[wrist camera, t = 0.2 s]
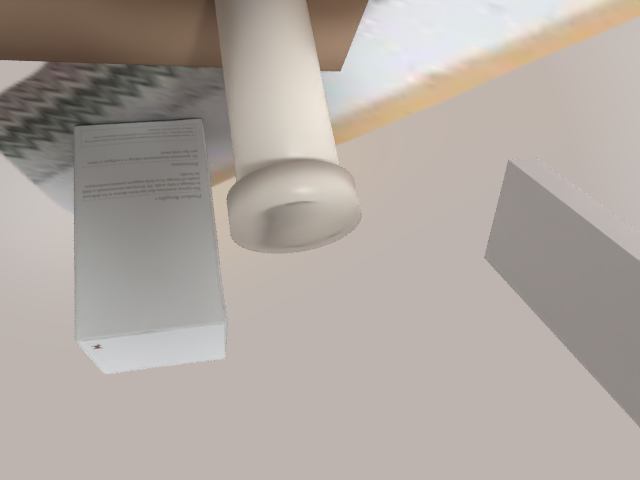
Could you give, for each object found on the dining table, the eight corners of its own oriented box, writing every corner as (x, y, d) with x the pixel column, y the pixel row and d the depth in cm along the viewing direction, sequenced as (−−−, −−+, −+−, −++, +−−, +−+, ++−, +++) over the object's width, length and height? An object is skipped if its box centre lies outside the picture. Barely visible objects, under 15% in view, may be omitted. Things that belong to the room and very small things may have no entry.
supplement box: (96, 188, 40) (99, 377, 35) (71, 121, 33) (70, 343, 28) (209, 180, 42) (227, 361, 37) (207, 115, 35) (228, 325, 30)
